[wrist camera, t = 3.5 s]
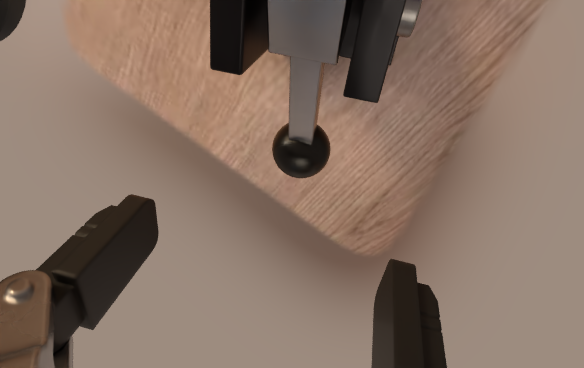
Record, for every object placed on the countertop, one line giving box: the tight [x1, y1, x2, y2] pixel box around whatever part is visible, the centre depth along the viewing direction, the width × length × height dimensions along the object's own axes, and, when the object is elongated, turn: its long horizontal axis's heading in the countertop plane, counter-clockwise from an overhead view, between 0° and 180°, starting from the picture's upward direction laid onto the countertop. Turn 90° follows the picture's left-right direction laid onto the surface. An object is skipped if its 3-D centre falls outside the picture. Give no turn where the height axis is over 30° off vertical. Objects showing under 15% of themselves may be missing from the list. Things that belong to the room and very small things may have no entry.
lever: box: [266, 0, 352, 178], centre depth 14 cm, size 11×3×3 cm, turn 172°
